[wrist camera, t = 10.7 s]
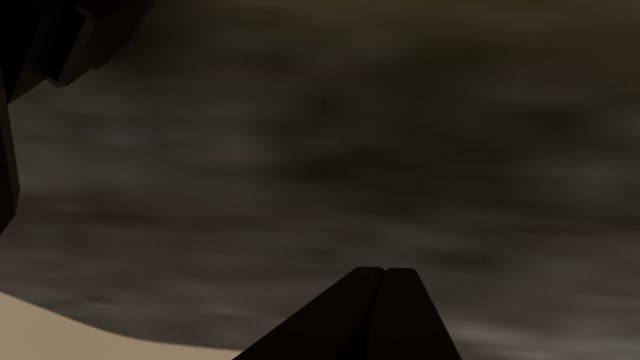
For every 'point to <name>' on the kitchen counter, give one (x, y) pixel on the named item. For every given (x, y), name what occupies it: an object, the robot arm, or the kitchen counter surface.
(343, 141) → the kitchen counter surface
